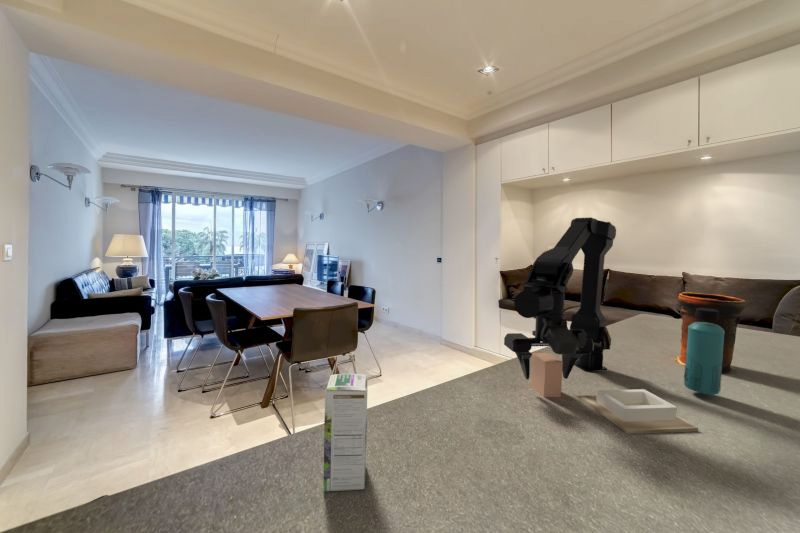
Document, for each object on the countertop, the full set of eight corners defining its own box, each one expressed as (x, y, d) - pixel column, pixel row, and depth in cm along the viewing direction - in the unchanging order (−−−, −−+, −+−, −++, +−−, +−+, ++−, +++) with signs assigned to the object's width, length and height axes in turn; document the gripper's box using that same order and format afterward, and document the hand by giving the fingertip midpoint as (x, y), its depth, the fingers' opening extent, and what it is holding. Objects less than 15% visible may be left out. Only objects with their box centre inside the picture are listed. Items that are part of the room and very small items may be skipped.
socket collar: (596, 401, 74) (597, 390, 74) (643, 400, 75) (644, 389, 75) (623, 421, 66) (624, 408, 66) (675, 419, 67) (677, 407, 67)
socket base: (580, 398, 77) (580, 395, 77) (639, 396, 78) (639, 393, 78) (627, 433, 63) (627, 430, 63) (697, 431, 64) (698, 427, 64)
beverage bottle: (727, 403, 76) (736, 312, 74) (692, 399, 77) (700, 311, 75) (707, 390, 82) (715, 306, 80) (675, 387, 83) (682, 305, 82)
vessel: (674, 352, 110) (682, 289, 108) (737, 365, 100) (747, 297, 98) (666, 363, 100) (674, 294, 98) (735, 379, 90) (746, 303, 87)
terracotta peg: (531, 385, 83) (532, 353, 82) (547, 385, 83) (548, 353, 83) (543, 397, 77) (545, 362, 76) (560, 396, 78) (562, 362, 77)
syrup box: (328, 465, 53) (328, 373, 52) (367, 463, 54) (367, 372, 52) (323, 492, 47) (322, 390, 46) (366, 490, 48) (367, 389, 47)
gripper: (526, 320, 70) (522, 395, 71) (613, 320, 72) (608, 393, 73) (504, 309, 81) (501, 374, 82) (580, 308, 83) (576, 372, 84)
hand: (546, 378), depth 80 cm, fingers open, 9 cm apart
